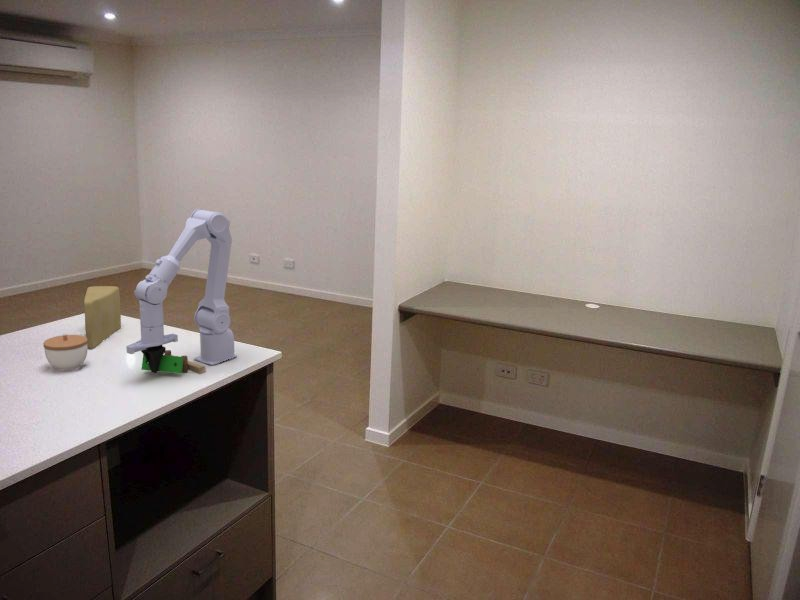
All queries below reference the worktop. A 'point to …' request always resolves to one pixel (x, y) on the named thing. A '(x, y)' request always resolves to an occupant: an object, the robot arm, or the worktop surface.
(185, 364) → the peg rack
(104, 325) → the cheese
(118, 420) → the worktop surface
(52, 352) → the lidded jar
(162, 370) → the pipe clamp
